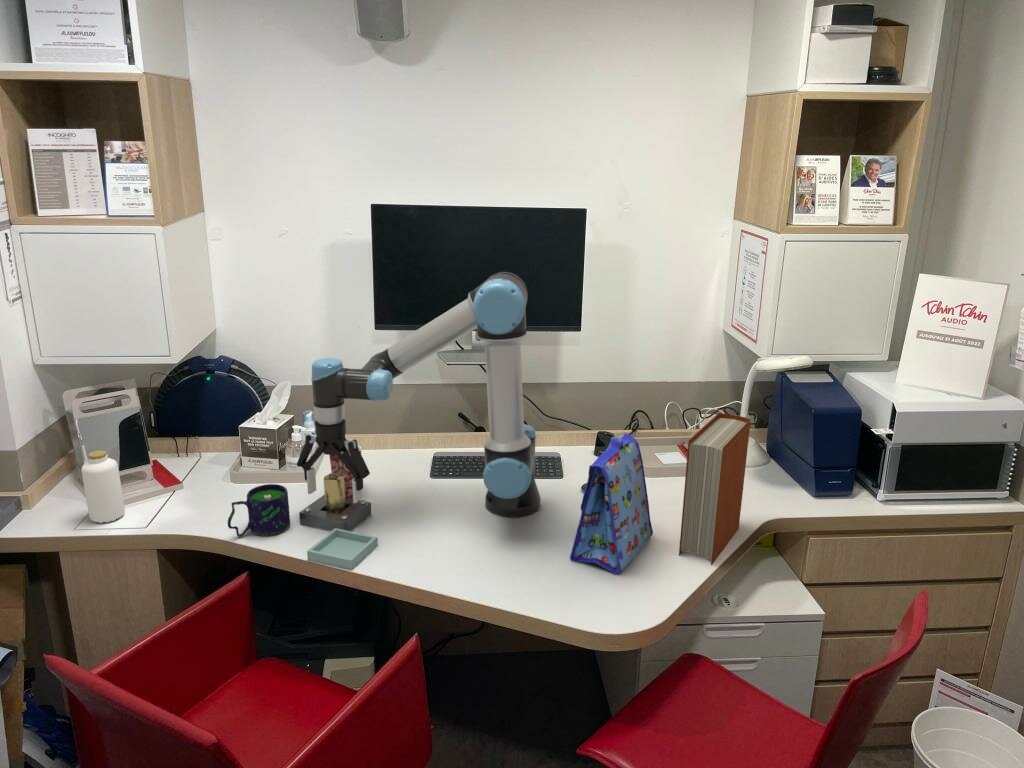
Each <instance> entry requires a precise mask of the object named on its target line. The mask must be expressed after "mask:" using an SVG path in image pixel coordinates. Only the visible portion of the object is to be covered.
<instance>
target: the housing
mask: <svg viewBox="0 0 1024 768" xmlns="http://www.w3.org/2000/svg"><path fill="white" fill-rule="evenodd" d="M345 508H346V509H345V510H344V511H343V512H341V513H340V514H336V513H331V512H326V504H325V493H324V494H323V495H322V496H320V497H319V498H318V499H316V500H314V501H313V502H312V503H311V504H309V505H307V506H306V507H305V508H303V509H302V510H300V512H298V513H299V515H298V517H299V525H300V526H304V527H308V528H309V527H310V528H315V529H320V530H323V531H328V532H331V531H332V530H334V529H335V528H337V529H342V530H347V531H351V532H353V530H354V529H356V528H357V527H359V525H360V524H361V523H363V522H365V520H366V519H368V518H369V517H370V516H371V515H372V502H371V501H368V500H366V499H361V500H359V501H358V502H357V503H353V498H347V497H345Z"/></svg>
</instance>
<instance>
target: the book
mask: <svg viewBox="0 0 1024 768" xmlns="http://www.w3.org/2000/svg"><path fill="white" fill-rule="evenodd" d="M751 423H752V422H751V419H750V418H747V417H744V416H740V415H737V414H731V413H717V414H716V415H715V416H714V417H712V419H710V420H709V421H708V422H707V423H706V424H705V425H704V426H703V427H701V428H700V429H699V430H698V431H697V432H696V433H695V434H693V436H692V437H690V438H689V439H688V443H687V453H686V454H687V455H686V466H685V477H684V491H683V492H684V493H683V500H682V501H683V502H682V513H681V525H680V526H681V527H680V534H679V535H680V537H679V546H678V547H679V548H678V549H679V550H678V557H680V556H681V555H682V554H683V553H684V552H686V553H687V552H688V553H691V554H698V555H700V556H703V557H705V558H707V559H709V560H710V561H711V562H710V563H711V564H710V565H711V566H713V565H714V563H715V562H716V560H718V557H720V555H721V554H722V552H723V551H724V550H725V548H726V547H727V545H728V544H729V542H730V541H731V540H732V539H733V537H734V536H735V535H736V533H737V532H738V530H739V528H740V522H741V512H742V511H741V510H742V502H743V493H744V483H745V475H746V466H747V456H748V449H749V439H750V431H751Z"/></svg>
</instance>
